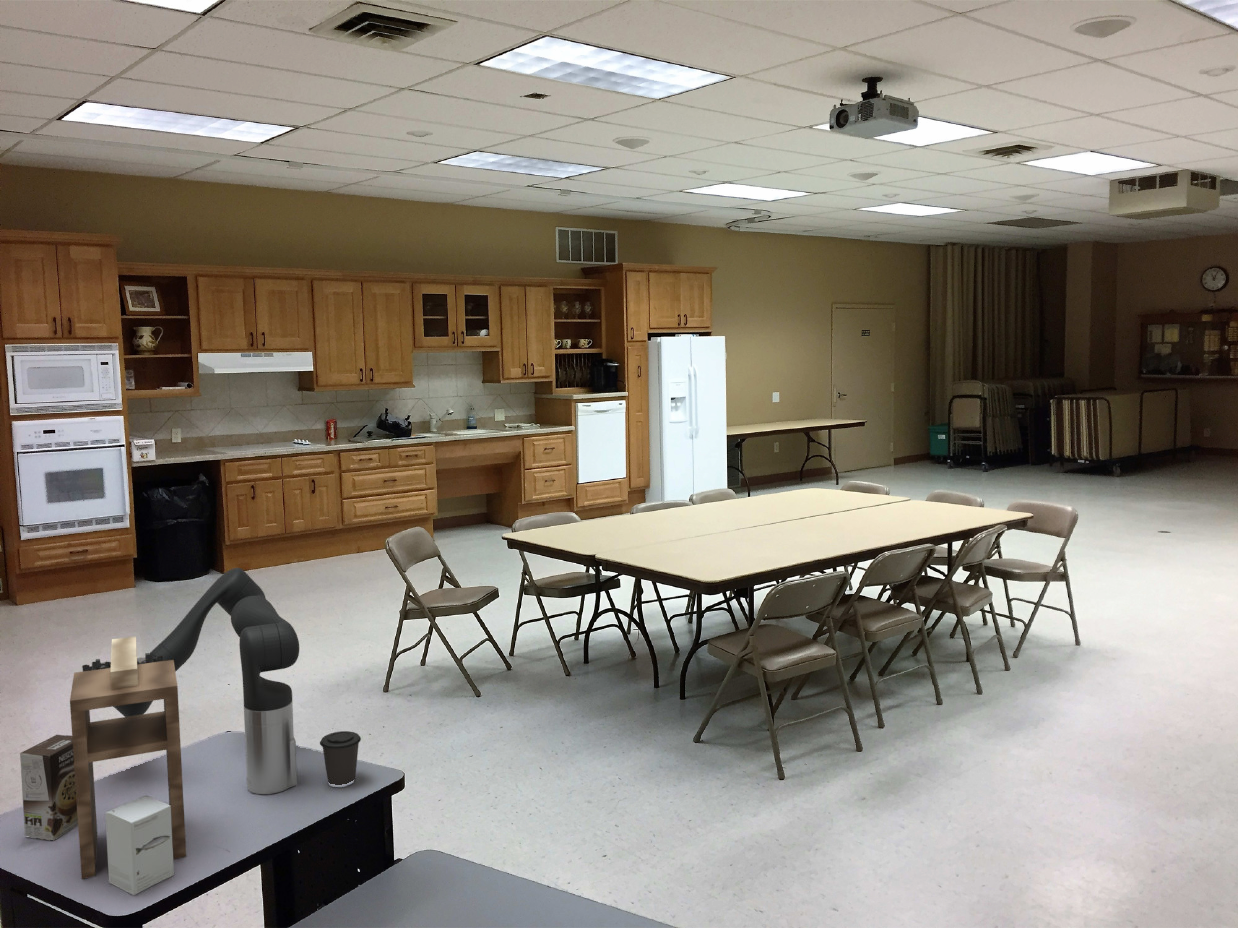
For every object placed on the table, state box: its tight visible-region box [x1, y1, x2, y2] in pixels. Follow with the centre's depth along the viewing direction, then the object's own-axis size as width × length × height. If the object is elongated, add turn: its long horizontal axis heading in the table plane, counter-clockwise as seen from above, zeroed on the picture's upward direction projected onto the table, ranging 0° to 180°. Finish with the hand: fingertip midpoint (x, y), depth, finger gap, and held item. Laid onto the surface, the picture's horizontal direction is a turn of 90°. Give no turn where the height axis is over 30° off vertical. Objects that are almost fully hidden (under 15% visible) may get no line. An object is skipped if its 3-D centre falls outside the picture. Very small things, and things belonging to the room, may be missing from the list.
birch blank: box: [110, 636, 138, 689], centre depth 172 cm, size 4×20×3 cm, turn 27°
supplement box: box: [104, 795, 175, 896], centre depth 160 cm, size 7×7×13 cm
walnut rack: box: [69, 660, 187, 880], centre depth 169 cm, size 16×15×31 cm
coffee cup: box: [319, 730, 362, 785], centre depth 197 cm, size 8×8×10 cm
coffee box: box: [19, 734, 78, 841], centre depth 177 cm, size 9×6×16 cm
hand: (122, 661), depth 186 cm, fingers open, 8 cm apart
